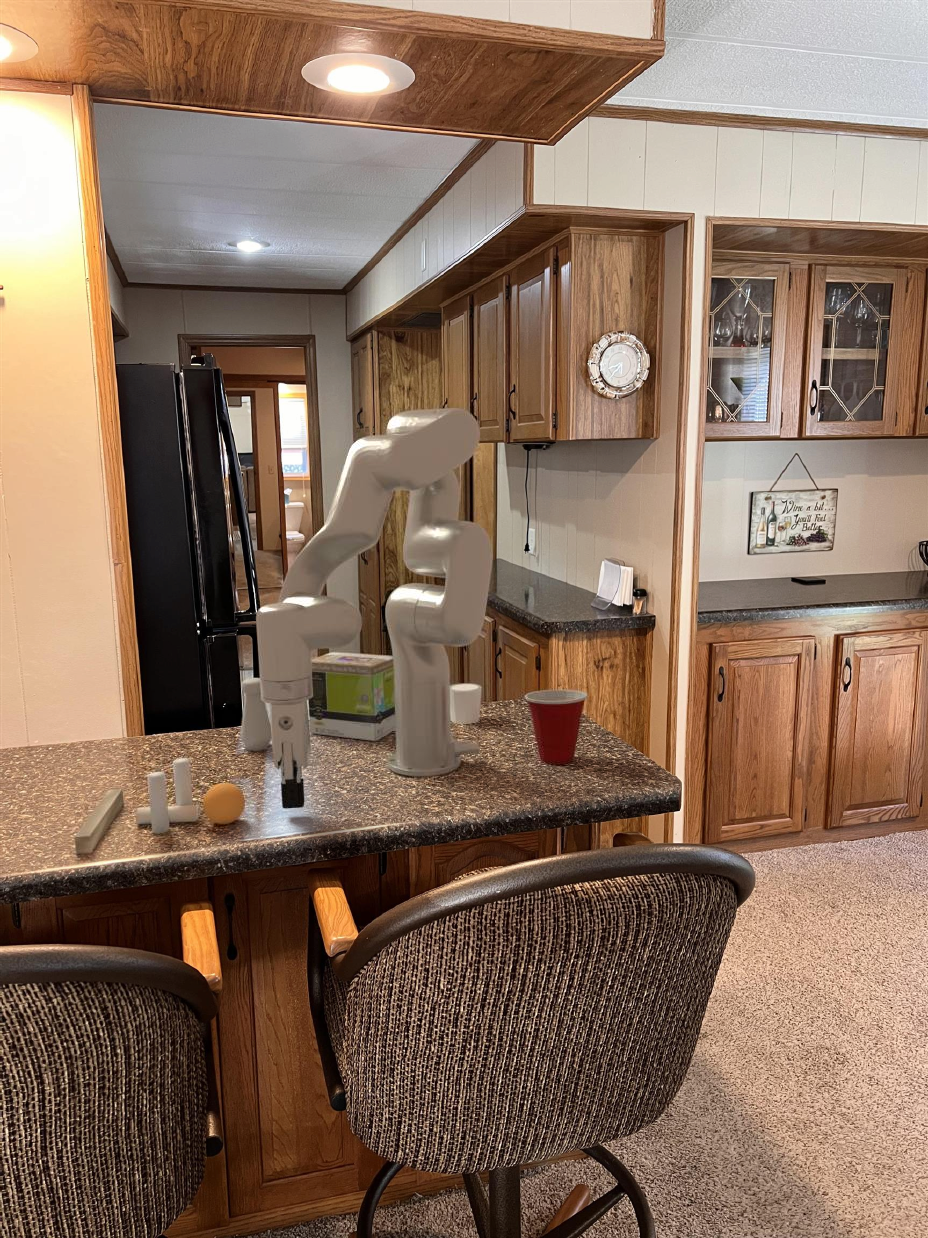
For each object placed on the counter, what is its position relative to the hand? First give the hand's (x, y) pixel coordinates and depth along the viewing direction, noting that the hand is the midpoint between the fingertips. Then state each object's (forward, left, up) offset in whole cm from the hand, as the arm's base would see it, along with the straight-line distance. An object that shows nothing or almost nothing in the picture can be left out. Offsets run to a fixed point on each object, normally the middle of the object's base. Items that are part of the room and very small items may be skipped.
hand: (293, 805), depth 138 cm
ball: (+10, +1, +2) cm, 10 cm away
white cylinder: (-31, -44, -2) cm, 54 cm away
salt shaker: (+9, -34, -2) cm, 35 cm away
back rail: (+28, 0, -2) cm, 28 cm away
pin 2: (+16, -3, -2) cm, 17 cm away
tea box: (-9, -41, -2) cm, 42 cm away
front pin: (+14, 0, 0) cm, 14 cm away
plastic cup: (-44, -18, -2) cm, 48 cm away
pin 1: (+19, +3, -2) cm, 19 cm away
